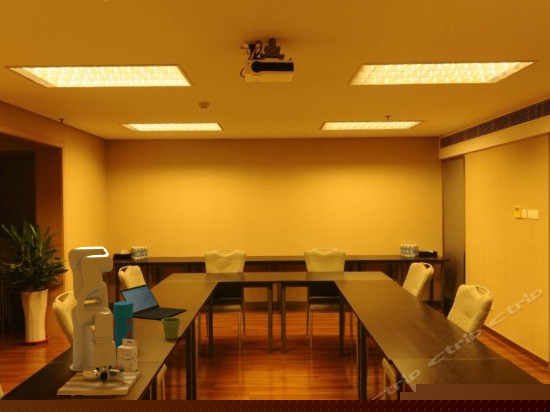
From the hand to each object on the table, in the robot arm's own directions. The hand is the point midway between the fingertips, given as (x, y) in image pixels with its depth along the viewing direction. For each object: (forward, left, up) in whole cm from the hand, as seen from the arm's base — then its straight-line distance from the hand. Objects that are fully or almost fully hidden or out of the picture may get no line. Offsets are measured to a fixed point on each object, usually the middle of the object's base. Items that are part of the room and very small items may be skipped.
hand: (103, 381), depth 204 cm
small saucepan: (-5, -1, -1) cm, 5 cm away
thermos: (-61, -9, -3) cm, 62 cm away
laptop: (-144, -10, -4) cm, 145 cm away
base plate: (-3, -2, -3) cm, 5 cm away
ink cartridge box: (-22, +4, -3) cm, 23 cm away
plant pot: (-78, +15, -3) cm, 79 cm away
